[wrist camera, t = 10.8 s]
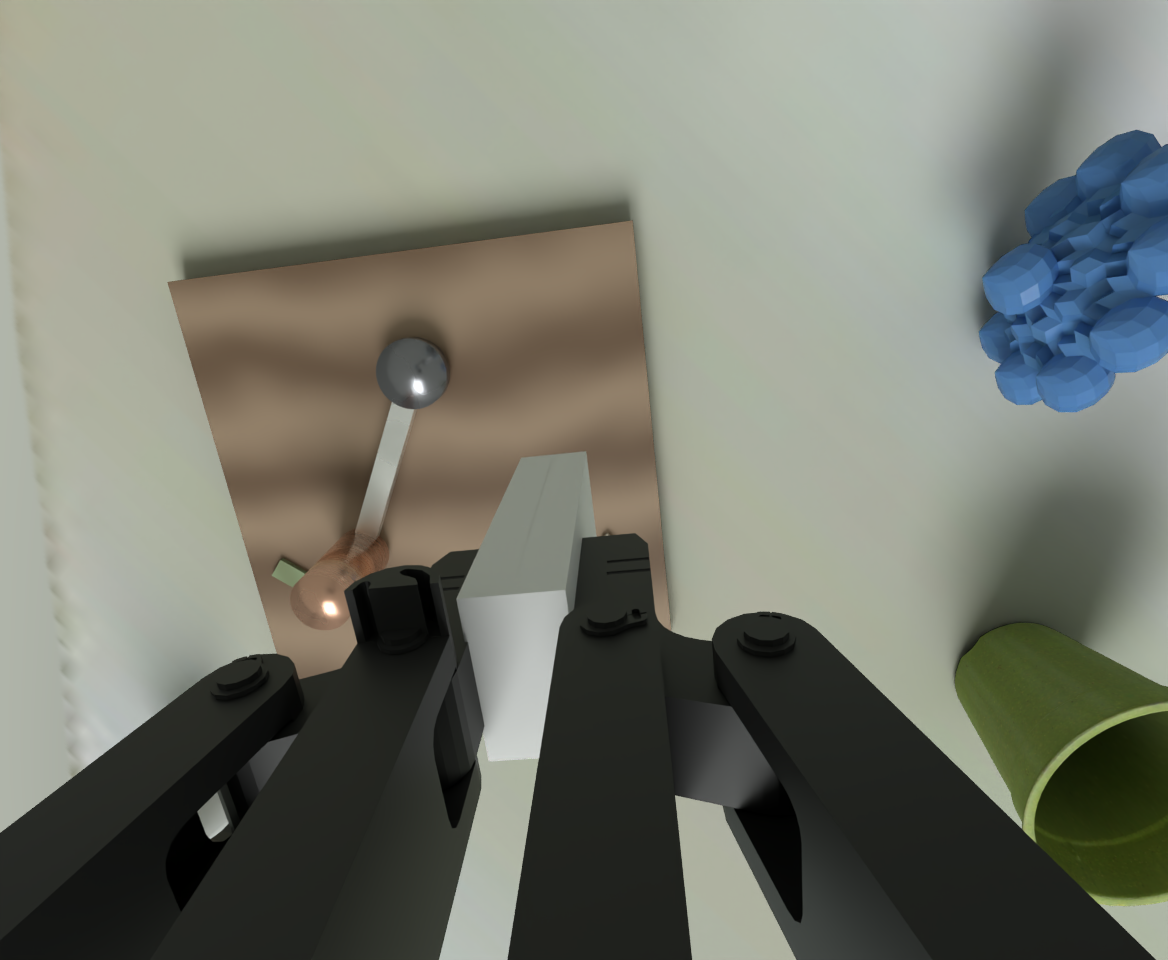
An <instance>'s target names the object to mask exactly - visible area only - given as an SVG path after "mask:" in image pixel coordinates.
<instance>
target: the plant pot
mask: <svg viewBox="0 0 1168 960" xmlns="http://www.w3.org/2000/svg"><path fill="white" fill-rule="evenodd" d="M955 688H956V692H957V695H958V698H959V700H960V702H961V704H962V706H963V708H964V709H965V711H966V713H967V715H968V717H969V719H970V720H971V722H972V724H973V726H974V728H975V729H976V731H977V733H978V735H979V736H980V738H981V740H982V742H983V744H984V745H985V747H986V749H987V751H988V753H989V754H990V756H991V758H992V760H993V762H994V764H995V765H996V767H997V769H998V771H999V773H1000V774H1001V776H1002V778H1003V780H1004V782H1005V783H1006V785H1007V787H1008V789H1009V791H1010V792H1011V796H1012V800H1013V804H1014V807H1015V809H1016V811H1017V813H1018V815H1019V817H1020V819H1021V821H1022V830H1023V831H1024V832H1025V833H1026V834H1027V835H1028V836H1029V837H1030V838H1031V839H1032V840H1033V841H1035V842H1036V843H1037V844H1038V845H1039V846H1040V847H1041V848H1042V849H1043V850H1044V851H1045V852H1046V853H1047V854H1048V855H1049V856H1050V857H1051V858H1052V859H1053V860H1054V861H1055V862H1056V863H1057V864H1058V865H1059V866H1060V867H1061V868H1062V869H1063V870H1064V871H1065V872H1066V873H1067V874H1068V875H1069V876H1070V877H1071V878H1073V879H1074V880H1075V881H1076V882H1077V883H1078V884H1079V885H1080V886H1081V887H1082V888H1083V889H1084V890H1085V891H1086V892H1087V893H1088V894H1089V895H1090V896H1091V897H1092V898H1093V899H1094V900H1095V901H1096V902H1097V903H1098V904H1104V905H1109V906H1117V905H1118V906H1137V905H1148V904H1156V903H1160V902H1166V901H1168V687H1166V686H1162V685H1160V684H1158V683H1155V682H1153V681H1151V680H1149V679H1147V678H1145V677H1144V676H1142V675H1140V674H1138V673H1136V672H1134V671H1132V670H1130V669H1128V668H1127V667H1125V666H1123V665H1121V664H1119V663H1117V662H1115V661H1113V660H1111V659H1109V658H1107V657H1105V656H1104V655H1102V654H1100V653H1098V652H1096V651H1094V650H1092V649H1090V648H1088V647H1086V646H1084V645H1082V644H1080V643H1078V642H1077V641H1075V640H1073V639H1071V638H1069V637H1067V636H1065V635H1063V634H1062V633H1060V632H1058V631H1056V630H1053V629H1051V628H1049V627H1046V626H1044V625H1040V624H1035V623H1015V624H1009V625H1005V626H1002V627H999V628H997V629H994V630H992V631H990V632H988V633H986V634H985V635H983V636H982V637H980V638H979V640H978V642H977V643H976V644H975V646H974V647H973V648H972V649H971V650H970V651H969V652H968V653H967V654H965V655H964V656H963V657H962V658H961V660H960V662H959V665H958V668H957V672H956V676H955Z"/></svg>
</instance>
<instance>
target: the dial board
mask: <svg viewBox="0 0 1168 960" xmlns="http://www.w3.org/2000/svg"><path fill="white" fill-rule="evenodd" d="M168 286H169V289H170V292H171V296H172V299H173V303H174V306H175V309H176V313H177V316H178V320H179V323H180V326H181V330H182V333H183V336H184V340H185V343H186V347H187V350H188V353H189V357H190V360H191V364H192V367H193V370H194V374H195V377H196V381H197V384H198V387H199V391H200V394H201V397H202V401H203V404H204V408H205V411H206V414H207V418H208V421H209V425H210V428H211V431H212V435H213V438H214V442H215V445H216V448H217V452H218V455H219V459H220V462H221V465H222V469H223V472H224V475H225V479H226V482H227V486H228V489H229V492H230V496H231V499H232V503H233V506H234V509H235V513H236V516H237V520H238V523H239V526H240V530H241V533H242V536H243V540H244V543H245V547H246V550H247V553H248V557H249V560H250V564H251V567H252V570H253V574H254V577H255V581H256V584H257V587H258V591H259V594H260V597H261V601H262V604H263V608H264V611H265V614H266V618H267V621H268V625H269V628H270V631H271V635H272V638H273V642H274V645H275V648H276V652H277V654H280V655H283V656H287V657H289V658H290V659H291V660H292V662H293V663H294V664H295V667H296V671H297V674H298V677H299V679H303V678H307V677H310V676H314V675H318V674H322V673H326V672H330V671H333V670H337V669H340V668H342V666H343V665H344V663H345V662H346V660H347V659H348V657H349V655H350V654H351V652H352V651H353V649H354V648H355V646H356V645H357V640H356V636H355V632H354V629H353V625H352V621H351V617H349V618H348V620H347V621H346V622H345V623H344V624H343V625H341V626H340V627H338V628H336V629H333V630H317V629H313V628H311V627H309V626H307V625H305V624H304V623H302V622H301V621H300V620H299V619H298V618H297V617H296V615H295V614H294V612H293V610H292V608H291V604H290V594H291V591H292V588H293V587H294V585H295V584H296V583H297V582H298V581H299V580H300V579H301V578H302V577H303V576H304V575H305V574H306V573H307V572H308V571H309V569H310V568H311V567H312V566H313V565H314V564H315V563H316V562H317V561H318V560H319V559H320V558H321V557H322V556H323V555H324V554H325V553H326V552H327V551H328V550H329V549H330V548H331V547H332V546H333V545H334V544H335V543H336V542H337V541H338V540H339V539H340V538H341V537H342V536H343V535H344V534H345V533H346V532H348V531H350V530H353V529H356V527H357V523H358V520H359V516H360V513H361V509H362V505H363V502H364V498H365V495H366V491H367V488H368V484H369V481H370V477H371V474H372V470H373V467H374V463H375V460H376V456H377V453H378V449H379V446H380V442H381V439H382V435H383V432H384V428H385V425H386V421H387V417H388V414H389V410H390V407H391V403H392V402H391V401H390V400H389V399H388V398H387V397H386V396H385V395H384V394H383V392H382V391H381V389H380V387H379V385H378V382H377V378H376V364H377V361H378V358H379V356H380V354H381V352H382V351H383V350H384V349H385V348H386V347H387V346H388V345H389V344H391V343H393V342H395V341H397V340H400V339H403V338H407V337H420V338H424V339H427V340H429V341H431V342H433V343H434V344H435V345H437V346H438V347H439V348H440V349H441V350H442V352H443V353H444V354H445V356H446V358H447V360H448V363H449V366H450V381H449V385H448V387H447V389H446V391H445V393H444V394H443V395H442V396H441V397H440V398H439V399H438V400H437V401H435V402H434V403H433V404H431V405H429V406H427V407H425V408H421V409H417V411H416V414H415V418H414V421H413V424H412V428H411V431H410V434H409V438H408V441H407V444H406V448H405V451H404V455H403V458H402V461H401V465H400V468H399V471H398V475H397V478H396V482H395V485H394V488H393V492H392V495H391V498H390V502H389V505H388V508H387V512H386V515H385V519H384V522H383V525H382V529H381V532H380V535H379V536H380V537H381V538H382V539H383V540H384V541H385V543H386V545H387V547H388V550H389V560H388V564H387V566H386V567H385V569H386V568H392V567H397V566H403V565H423V566H426V567H430V568H431V566H432V565H433V564H434V563H436V562H437V561H438V560H440V559H441V558H442V557H444V556H445V555H446V554H448V553H449V552H452V551H464V550H475V549H479V548H480V546H481V544H482V542H483V540H484V538H485V535H486V533H487V531H488V529H489V527H490V525H491V522H492V520H493V518H494V516H495V514H496V511H497V509H498V507H499V505H500V503H501V501H502V498H503V496H504V494H505V492H506V490H507V488H508V485H509V483H510V481H511V479H512V477H513V474H514V472H515V470H516V468H517V466H518V464H519V461H520V459H521V458H524V457H534V456H544V455H554V454H564V453H574V452H584V451H586V454H587V462H588V470H589V479H590V487H591V495H592V503H593V512H594V520H595V528H596V536H608V535H619V534H630V533H636V534H637V535H638V536H639V537H641V538H642V539H643V540H644V541H645V542H647V543H648V549H649V559H650V568H651V577H652V586H653V596H654V605H655V613H656V616H657V619H658V621H659V622H660V623H661V624H662V625H663V626H664V627H665V628H667V629H668V630H670V631H671V623H670V613H669V602H668V592H667V581H666V570H665V560H664V549H663V539H662V528H661V517H660V507H659V496H658V486H657V475H656V464H655V454H654V443H653V433H652V422H651V411H650V401H649V390H648V380H647V369H646V358H645V348H644V337H643V327H642V316H641V305H640V295H639V284H638V274H637V263H636V252H635V242H634V231H633V221H625V222H617V223H610V224H602V225H595V226H587V227H579V228H572V229H564V230H557V231H549V232H542V233H534V234H527V235H519V236H511V237H504V238H496V239H489V240H481V241H474V242H466V243H459V244H451V245H443V246H436V247H428V248H421V249H413V250H406V251H398V252H391V253H383V254H376V255H368V256H360V257H353V258H345V259H338V260H330V261H323V262H315V263H308V264H300V265H292V266H285V267H277V268H270V269H262V270H255V271H247V272H240V273H232V274H224V275H217V276H209V277H202V278H194V279H187V280H179V281H172V282H168Z"/></svg>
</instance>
